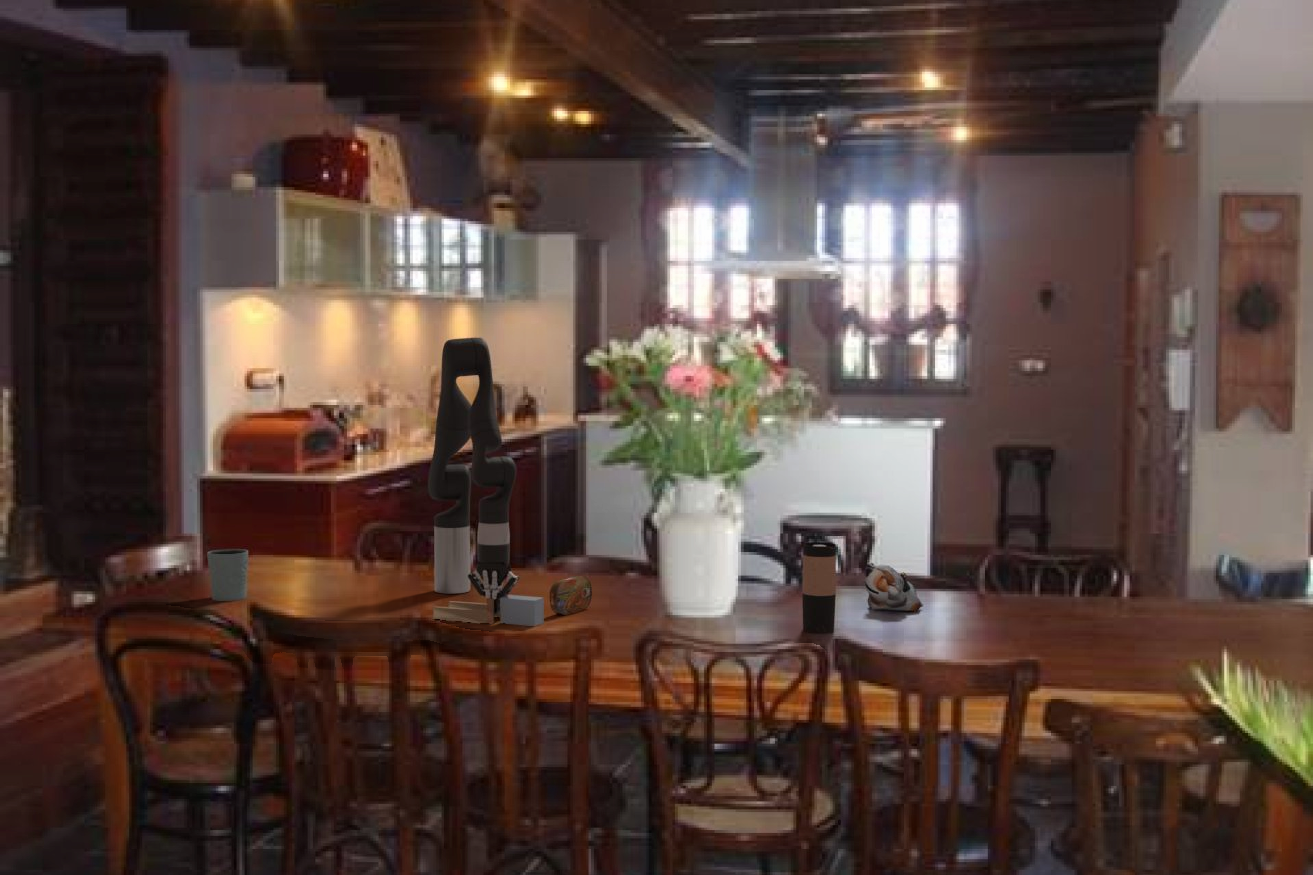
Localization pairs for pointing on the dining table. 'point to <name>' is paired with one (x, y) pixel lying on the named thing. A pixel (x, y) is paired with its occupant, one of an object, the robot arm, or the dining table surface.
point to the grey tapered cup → (228, 574)
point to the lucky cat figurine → (890, 589)
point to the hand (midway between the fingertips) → (493, 613)
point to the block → (522, 610)
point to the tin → (570, 595)
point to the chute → (468, 612)
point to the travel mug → (819, 586)
